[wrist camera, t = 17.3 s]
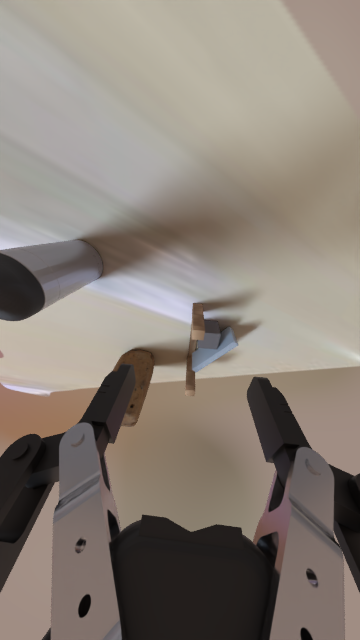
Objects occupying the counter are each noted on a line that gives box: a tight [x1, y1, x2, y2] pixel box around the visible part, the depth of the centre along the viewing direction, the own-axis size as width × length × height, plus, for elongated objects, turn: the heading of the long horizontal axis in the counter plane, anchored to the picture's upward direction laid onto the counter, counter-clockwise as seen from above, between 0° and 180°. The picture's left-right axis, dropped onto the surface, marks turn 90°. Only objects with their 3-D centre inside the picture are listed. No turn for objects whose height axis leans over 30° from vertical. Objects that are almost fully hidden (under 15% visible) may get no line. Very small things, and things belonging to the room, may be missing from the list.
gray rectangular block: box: [198, 320, 221, 349], centre depth 42 cm, size 5×5×6 cm
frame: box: [185, 303, 205, 396], centre depth 41 cm, size 2×21×12 cm, turn 177°
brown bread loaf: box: [113, 350, 154, 427], centre depth 44 cm, size 11×8×20 cm
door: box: [192, 327, 238, 372], centre depth 44 cm, size 3×14×6 cm, turn 138°
